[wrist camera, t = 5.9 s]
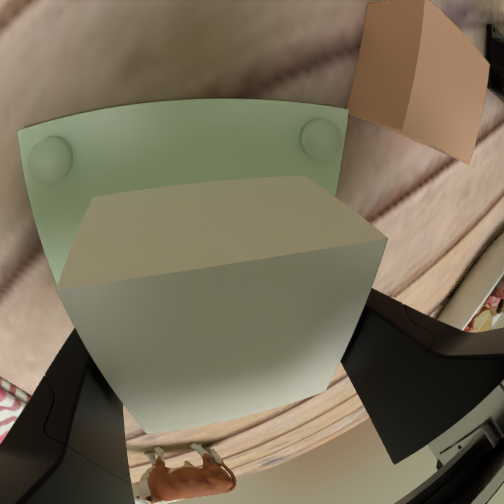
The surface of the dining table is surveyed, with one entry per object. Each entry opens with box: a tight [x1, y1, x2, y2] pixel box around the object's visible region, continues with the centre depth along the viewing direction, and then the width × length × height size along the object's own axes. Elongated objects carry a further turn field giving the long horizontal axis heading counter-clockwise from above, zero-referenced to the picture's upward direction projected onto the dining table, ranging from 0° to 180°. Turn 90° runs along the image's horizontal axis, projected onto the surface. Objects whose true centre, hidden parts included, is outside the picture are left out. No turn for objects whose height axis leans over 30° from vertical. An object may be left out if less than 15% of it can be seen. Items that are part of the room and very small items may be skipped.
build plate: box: [17, 98, 349, 286], centre depth 12 cm, size 14×11×1 cm
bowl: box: [437, 232, 504, 332], centre depth 31 cm, size 30×30×8 cm
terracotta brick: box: [347, 0, 490, 165], centre depth 10 cm, size 6×6×4 cm
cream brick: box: [56, 176, 388, 434], centre depth 8 cm, size 6×6×4 cm
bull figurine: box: [132, 443, 236, 504], centre depth 23 cm, size 4×13×8 cm, turn 73°
